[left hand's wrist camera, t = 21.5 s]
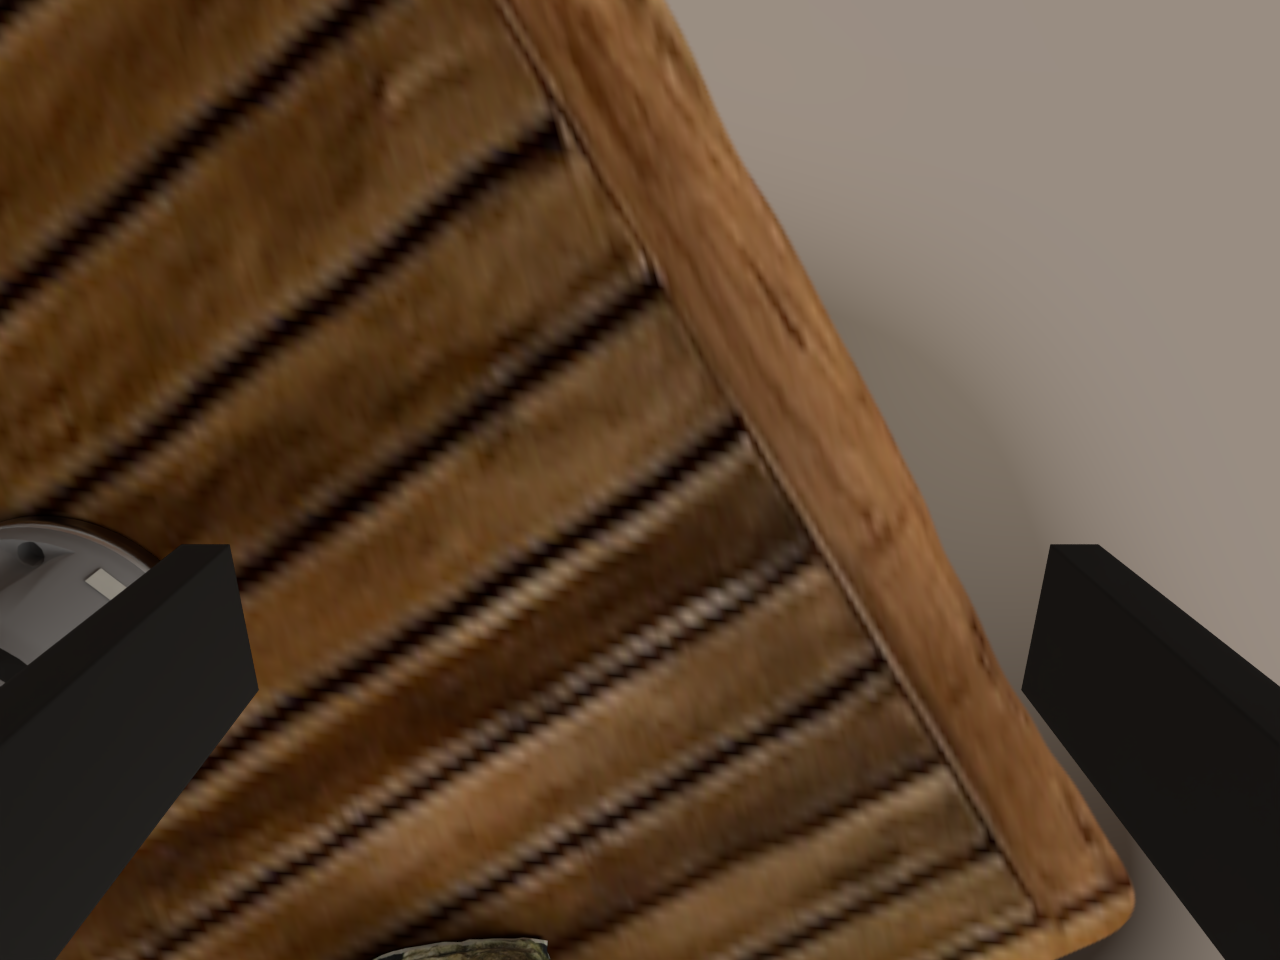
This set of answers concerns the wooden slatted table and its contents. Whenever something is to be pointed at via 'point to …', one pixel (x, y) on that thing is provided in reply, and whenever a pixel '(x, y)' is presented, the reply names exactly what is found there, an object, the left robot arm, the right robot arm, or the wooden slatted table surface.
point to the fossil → (475, 950)
